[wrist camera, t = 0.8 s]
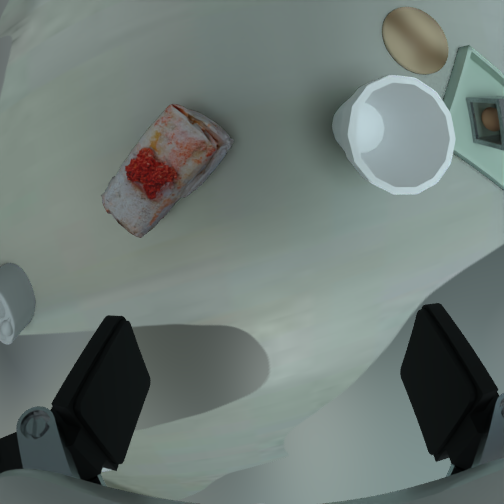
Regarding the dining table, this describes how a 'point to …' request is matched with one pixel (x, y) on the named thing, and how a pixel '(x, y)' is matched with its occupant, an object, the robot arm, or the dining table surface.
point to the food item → (165, 168)
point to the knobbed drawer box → (499, 140)
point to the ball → (490, 119)
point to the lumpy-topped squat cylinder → (14, 302)
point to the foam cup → (396, 134)
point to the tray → (474, 85)
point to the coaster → (415, 40)
